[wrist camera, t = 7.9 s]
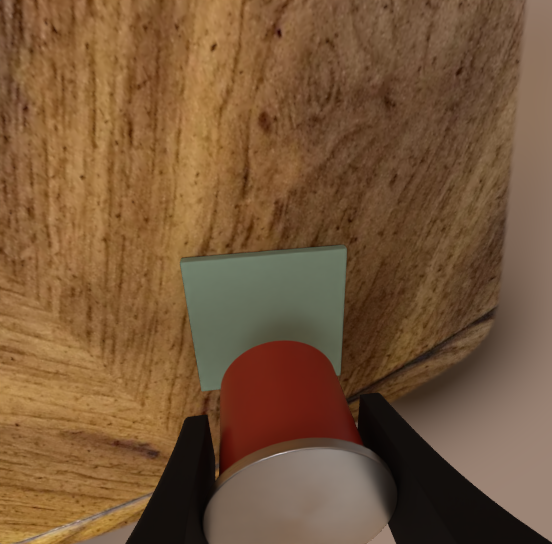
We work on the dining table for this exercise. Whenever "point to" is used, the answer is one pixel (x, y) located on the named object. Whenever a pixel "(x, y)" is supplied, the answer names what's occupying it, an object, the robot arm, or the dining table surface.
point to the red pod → (293, 456)
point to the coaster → (264, 304)
